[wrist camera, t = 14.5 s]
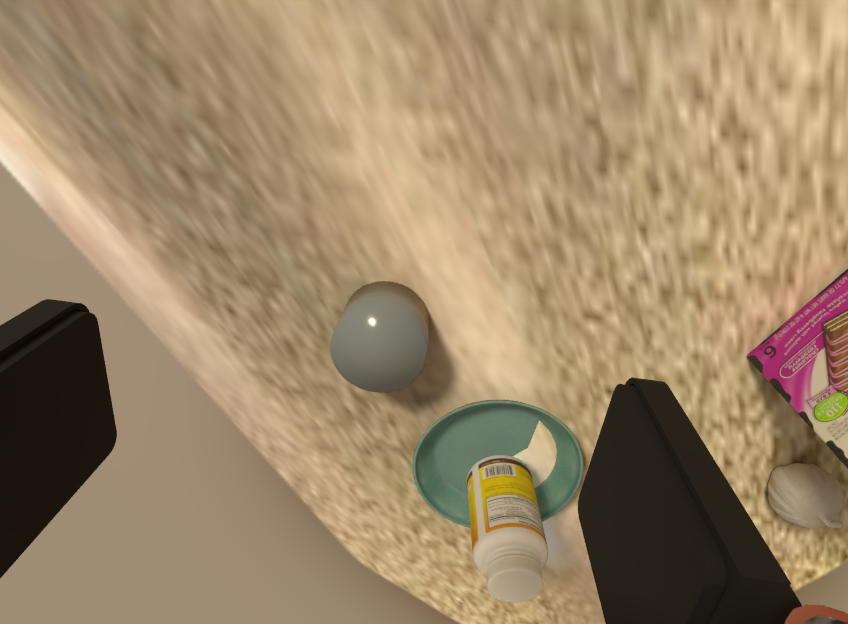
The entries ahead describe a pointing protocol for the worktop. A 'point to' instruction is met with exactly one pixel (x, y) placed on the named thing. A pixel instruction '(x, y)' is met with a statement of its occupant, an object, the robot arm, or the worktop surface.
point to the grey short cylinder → (381, 337)
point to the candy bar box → (814, 364)
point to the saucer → (486, 436)
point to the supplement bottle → (506, 528)
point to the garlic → (805, 495)
